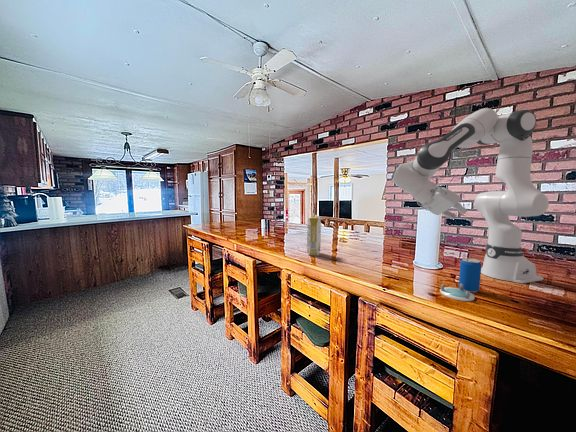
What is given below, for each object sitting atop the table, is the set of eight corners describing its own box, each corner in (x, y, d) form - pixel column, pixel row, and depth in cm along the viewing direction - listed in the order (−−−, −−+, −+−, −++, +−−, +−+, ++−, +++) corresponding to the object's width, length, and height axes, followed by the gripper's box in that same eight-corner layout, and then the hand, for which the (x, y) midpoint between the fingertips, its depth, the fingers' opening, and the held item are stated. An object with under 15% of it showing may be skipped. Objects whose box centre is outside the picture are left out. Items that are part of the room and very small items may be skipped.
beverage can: (469, 286, 96) (472, 257, 95) (483, 293, 90) (486, 262, 88) (454, 286, 96) (456, 257, 95) (466, 293, 89) (469, 262, 88)
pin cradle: (458, 288, 94) (458, 280, 94) (482, 300, 84) (482, 291, 83) (433, 289, 93) (434, 281, 92) (455, 301, 82) (455, 293, 82)
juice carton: (320, 256, 140) (320, 216, 138) (306, 255, 141) (307, 215, 139) (320, 252, 149) (321, 214, 147) (307, 251, 150) (308, 214, 148)
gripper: (442, 178, 85) (478, 202, 81) (426, 194, 105) (455, 214, 100) (430, 191, 86) (466, 216, 81) (416, 205, 105) (444, 225, 100)
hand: (459, 215), depth 91 cm, fingers open, 8 cm apart
